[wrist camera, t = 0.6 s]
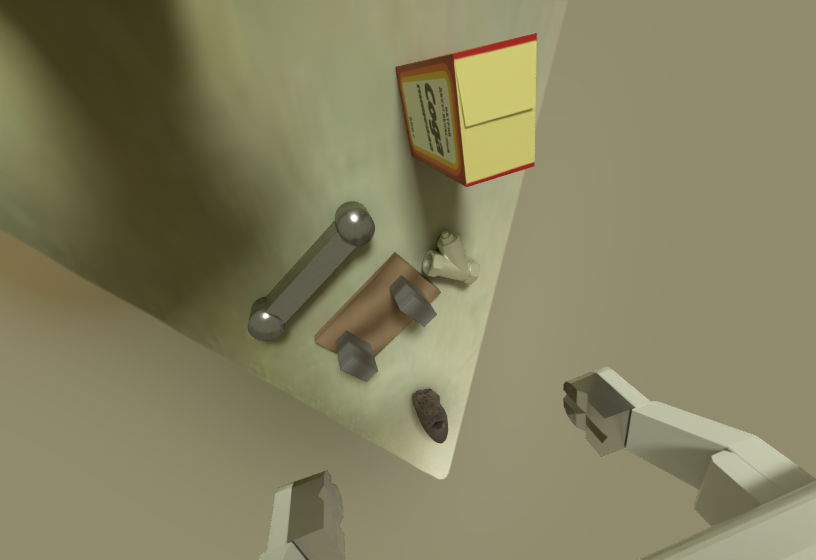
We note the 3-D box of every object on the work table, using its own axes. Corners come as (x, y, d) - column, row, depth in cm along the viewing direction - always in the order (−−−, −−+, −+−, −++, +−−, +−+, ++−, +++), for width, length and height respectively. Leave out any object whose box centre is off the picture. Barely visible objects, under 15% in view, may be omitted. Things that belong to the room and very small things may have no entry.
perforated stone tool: (445, 419, 70) (458, 449, 65) (423, 429, 70) (434, 459, 64) (432, 376, 62) (446, 405, 56) (407, 387, 61) (418, 417, 56)
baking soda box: (459, 142, 41) (536, 167, 28) (412, 156, 40) (468, 188, 27) (450, 53, 36) (539, 32, 23) (395, 67, 35) (455, 53, 22)
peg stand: (314, 335, 49) (317, 370, 43) (395, 252, 46) (410, 277, 40) (362, 360, 55) (370, 395, 48) (437, 287, 52) (456, 314, 45)
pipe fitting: (434, 225, 47) (419, 267, 49) (445, 233, 43) (428, 278, 46) (479, 237, 50) (463, 276, 52) (492, 246, 47) (474, 287, 49)
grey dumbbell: (244, 313, 44) (240, 331, 41) (350, 194, 40) (355, 203, 37) (272, 327, 46) (271, 345, 43) (375, 216, 43) (382, 226, 39)
